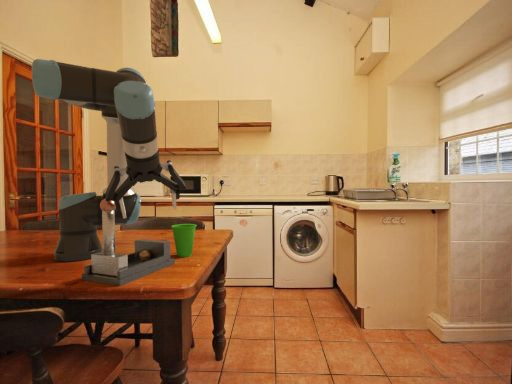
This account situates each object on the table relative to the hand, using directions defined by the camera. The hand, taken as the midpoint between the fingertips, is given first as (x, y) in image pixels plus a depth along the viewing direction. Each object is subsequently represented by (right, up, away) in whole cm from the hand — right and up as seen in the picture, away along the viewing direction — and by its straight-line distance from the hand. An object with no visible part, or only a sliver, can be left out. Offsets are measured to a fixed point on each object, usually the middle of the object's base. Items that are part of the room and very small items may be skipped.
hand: (150, 210), depth 81 cm
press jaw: (-10, -17, -4) cm, 20 cm away
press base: (-7, -18, +4) cm, 20 cm away
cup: (+4, -18, +22) cm, 29 cm away
